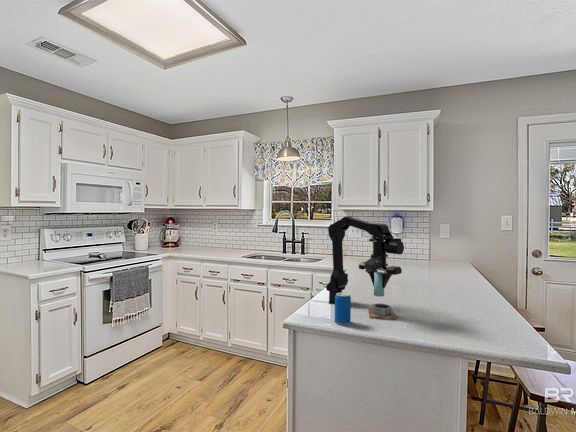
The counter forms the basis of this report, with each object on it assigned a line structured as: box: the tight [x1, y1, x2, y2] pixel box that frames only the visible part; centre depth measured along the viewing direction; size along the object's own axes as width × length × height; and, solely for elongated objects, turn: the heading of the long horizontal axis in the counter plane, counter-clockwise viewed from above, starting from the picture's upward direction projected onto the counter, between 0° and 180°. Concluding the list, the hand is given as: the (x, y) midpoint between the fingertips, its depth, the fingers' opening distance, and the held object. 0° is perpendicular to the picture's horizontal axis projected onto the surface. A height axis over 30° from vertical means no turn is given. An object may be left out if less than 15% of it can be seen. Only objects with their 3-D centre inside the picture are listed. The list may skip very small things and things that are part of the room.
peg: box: [373, 271, 385, 297], centre depth 144 cm, size 4×4×10 cm
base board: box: [367, 308, 397, 321], centre depth 145 cm, size 11×11×1 cm
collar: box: [371, 302, 393, 316], centre depth 145 cm, size 8×8×3 cm
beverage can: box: [334, 291, 352, 326], centre depth 135 cm, size 6×6×12 cm
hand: (379, 287), depth 144 cm, fingers closed on peg, 4 cm apart
